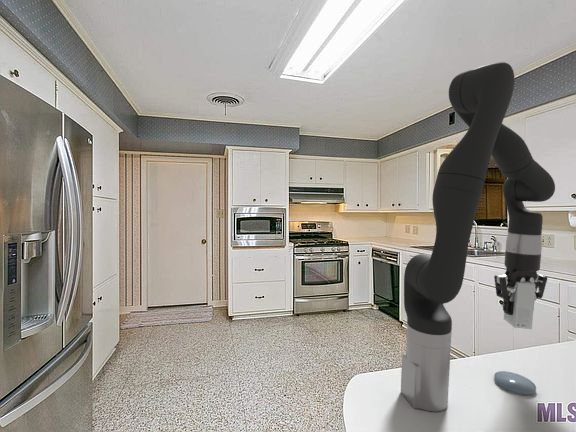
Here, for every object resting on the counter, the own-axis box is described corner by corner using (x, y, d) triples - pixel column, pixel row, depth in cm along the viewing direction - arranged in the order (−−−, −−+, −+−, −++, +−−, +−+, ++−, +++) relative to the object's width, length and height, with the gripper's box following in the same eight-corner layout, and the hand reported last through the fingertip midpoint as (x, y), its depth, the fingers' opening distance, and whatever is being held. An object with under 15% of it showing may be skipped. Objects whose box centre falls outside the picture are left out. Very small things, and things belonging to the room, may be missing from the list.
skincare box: (532, 329, 80) (536, 284, 79) (514, 328, 81) (517, 282, 80) (520, 320, 86) (523, 277, 85) (502, 318, 87) (505, 276, 86)
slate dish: (513, 397, 73) (513, 393, 73) (486, 376, 81) (486, 372, 81) (545, 394, 74) (545, 390, 74) (514, 373, 82) (515, 370, 82)
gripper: (510, 253, 77) (505, 320, 79) (560, 253, 79) (555, 318, 81) (487, 248, 85) (483, 309, 86) (533, 248, 87) (528, 307, 88)
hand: (518, 313), depth 83 cm, fingers closed on skincare box, 5 cm apart
